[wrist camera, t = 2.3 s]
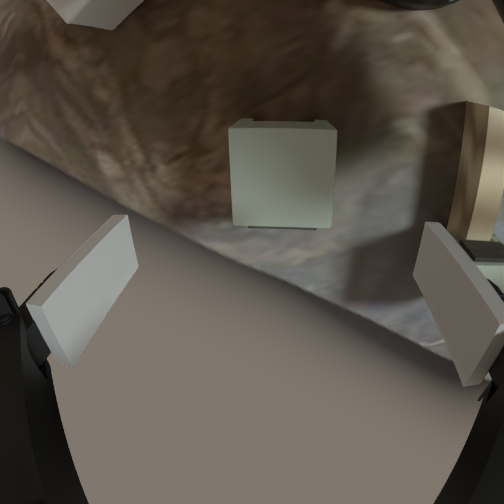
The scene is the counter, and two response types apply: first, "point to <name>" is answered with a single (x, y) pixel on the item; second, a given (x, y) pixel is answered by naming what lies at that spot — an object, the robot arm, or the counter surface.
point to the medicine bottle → (94, 12)
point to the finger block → (282, 173)
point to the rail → (480, 190)
